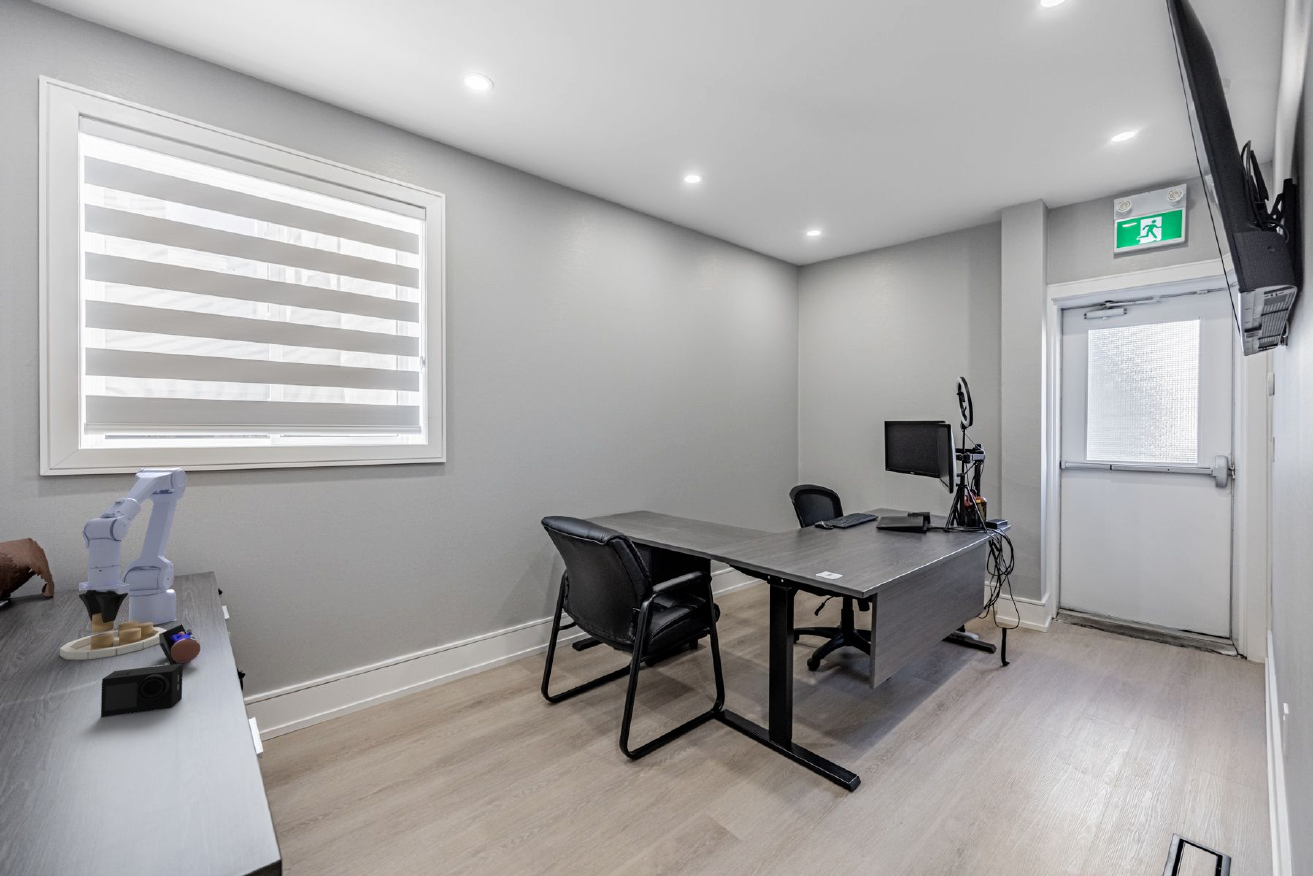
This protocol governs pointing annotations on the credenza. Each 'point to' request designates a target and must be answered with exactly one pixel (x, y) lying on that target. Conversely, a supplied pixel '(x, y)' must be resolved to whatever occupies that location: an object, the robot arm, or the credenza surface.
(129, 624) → the bead
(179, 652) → the character figurine
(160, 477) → the robot arm
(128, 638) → the seated bead
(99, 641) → the seated bead
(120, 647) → the tray
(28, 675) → the credenza surface
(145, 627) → the seated bead
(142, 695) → the digital camera
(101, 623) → the bead
